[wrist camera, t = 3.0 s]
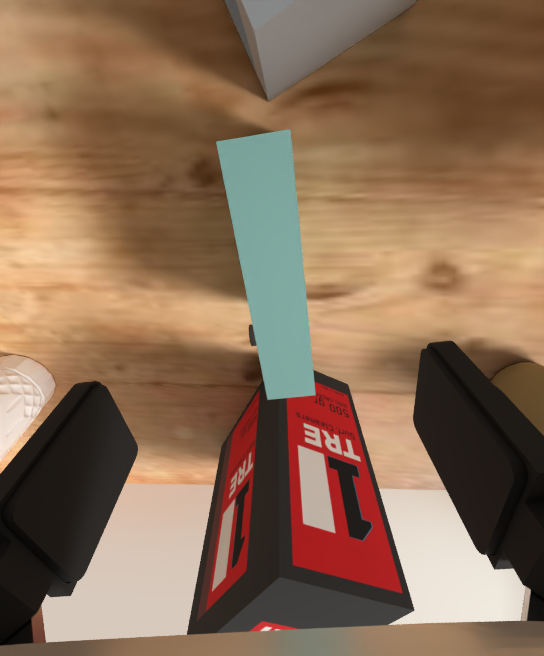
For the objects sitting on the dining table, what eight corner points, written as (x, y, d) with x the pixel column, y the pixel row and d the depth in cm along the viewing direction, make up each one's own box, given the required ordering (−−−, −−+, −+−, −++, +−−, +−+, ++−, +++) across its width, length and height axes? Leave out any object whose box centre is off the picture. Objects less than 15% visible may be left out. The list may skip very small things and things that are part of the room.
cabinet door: (301, 303, 30) (315, 395, 19) (259, 308, 31) (248, 401, 20) (284, 136, 23) (290, 129, 12) (229, 145, 24) (186, 146, 13)
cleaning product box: (278, 355, 34) (279, 577, 16) (347, 384, 36) (414, 610, 18) (221, 446, 41) (181, 663, 24) (281, 466, 43) (284, 680, 26)
